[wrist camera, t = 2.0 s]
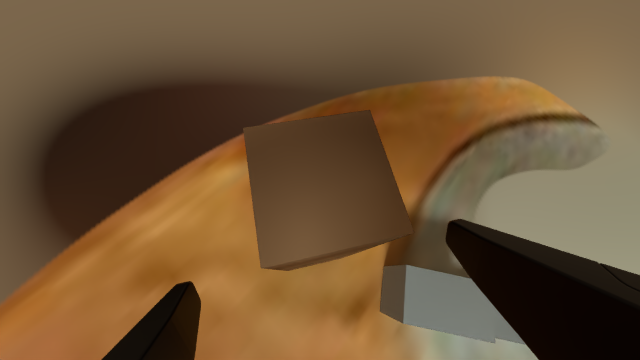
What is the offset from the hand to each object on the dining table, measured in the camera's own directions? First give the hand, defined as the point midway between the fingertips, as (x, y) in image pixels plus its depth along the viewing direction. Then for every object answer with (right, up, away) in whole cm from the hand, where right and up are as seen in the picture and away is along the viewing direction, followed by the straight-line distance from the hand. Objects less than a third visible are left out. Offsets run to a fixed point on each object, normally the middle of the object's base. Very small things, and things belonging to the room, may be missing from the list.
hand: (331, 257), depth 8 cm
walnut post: (-1, -2, +10) cm, 10 cm away
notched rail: (+12, -7, +9) cm, 16 cm away
